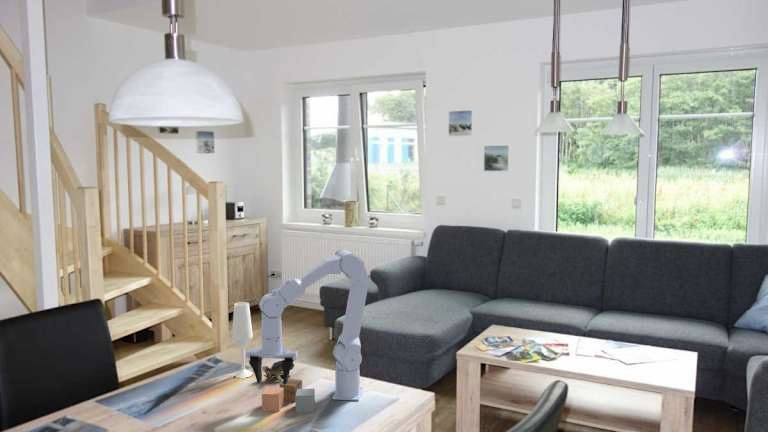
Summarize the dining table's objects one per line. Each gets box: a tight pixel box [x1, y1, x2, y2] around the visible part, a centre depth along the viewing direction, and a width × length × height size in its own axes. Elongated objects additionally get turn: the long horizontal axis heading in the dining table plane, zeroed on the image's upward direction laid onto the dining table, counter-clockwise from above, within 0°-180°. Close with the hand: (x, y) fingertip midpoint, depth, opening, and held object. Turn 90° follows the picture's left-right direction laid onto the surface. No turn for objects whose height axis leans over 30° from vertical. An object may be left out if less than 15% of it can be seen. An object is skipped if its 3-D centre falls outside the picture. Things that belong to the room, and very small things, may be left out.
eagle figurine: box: [261, 359, 295, 383], centre depth 192 cm, size 8×7×9 cm
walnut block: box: [279, 377, 303, 403], centre depth 178 cm, size 5×5×5 cm
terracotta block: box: [261, 386, 285, 412], centre depth 171 cm, size 5×5×5 cm
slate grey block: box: [295, 388, 316, 413], centre depth 170 cm, size 5×5×5 cm
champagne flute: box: [231, 301, 254, 379], centre depth 195 cm, size 7×7×24 cm
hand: (272, 382), depth 170 cm, fingers open, 7 cm apart
